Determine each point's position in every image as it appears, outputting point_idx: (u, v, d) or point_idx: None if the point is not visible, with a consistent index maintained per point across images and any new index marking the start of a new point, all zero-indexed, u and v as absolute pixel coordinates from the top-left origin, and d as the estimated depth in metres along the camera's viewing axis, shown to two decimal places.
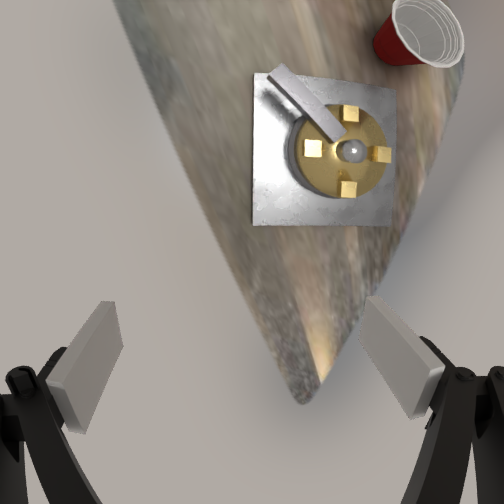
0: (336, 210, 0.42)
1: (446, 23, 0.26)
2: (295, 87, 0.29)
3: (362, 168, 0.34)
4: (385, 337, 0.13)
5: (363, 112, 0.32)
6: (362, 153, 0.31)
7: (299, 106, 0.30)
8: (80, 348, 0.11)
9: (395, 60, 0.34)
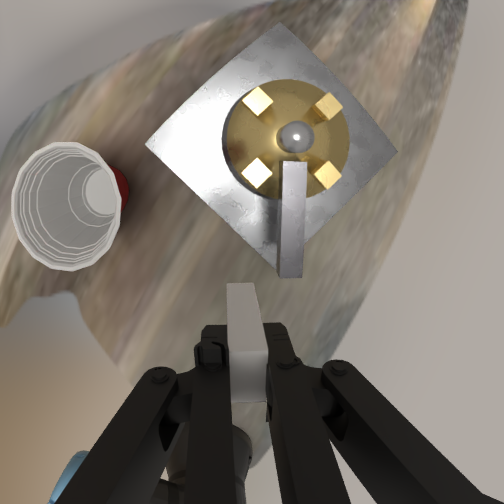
0: (322, 87, 0.30)
1: (27, 196, 0.23)
2: (292, 246, 0.27)
3: (289, 107, 0.25)
4: None
5: (233, 159, 0.26)
6: (293, 128, 0.23)
7: (303, 224, 0.27)
8: (241, 321, 0.13)
9: (121, 179, 0.29)
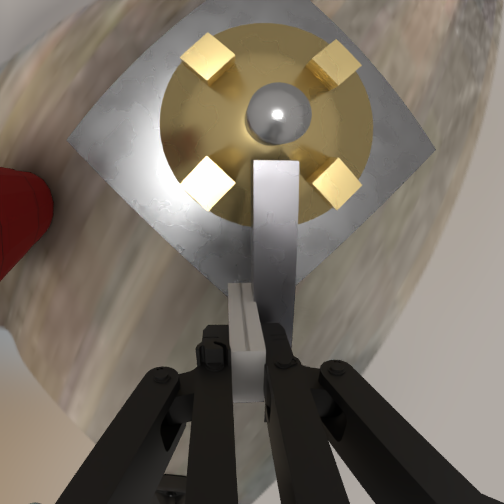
0: None
1: None
2: (273, 309, 0.15)
3: (267, 67, 0.14)
4: None
5: (171, 160, 0.15)
6: (270, 96, 0.12)
7: (294, 272, 0.15)
8: (243, 321, 0.13)
9: (32, 193, 0.18)
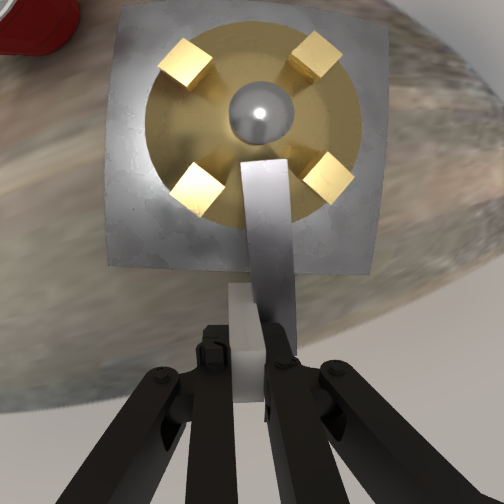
0: None
1: None
2: (274, 310, 0.15)
3: (247, 66, 0.14)
4: None
5: (160, 169, 0.15)
6: (250, 97, 0.11)
7: (293, 271, 0.15)
8: (243, 321, 0.13)
9: (61, 16, 0.14)
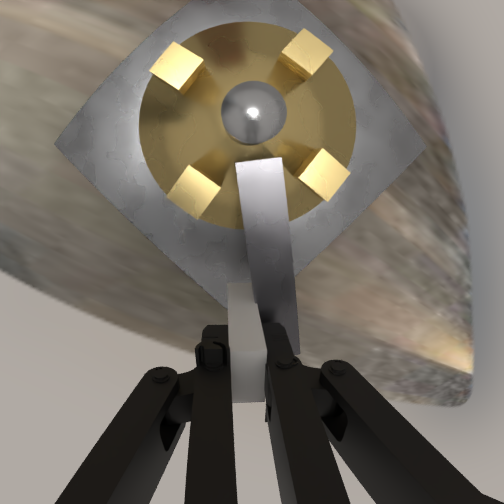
0: (335, 200, 0.22)
1: None
2: (275, 310, 0.15)
3: (238, 67, 0.14)
4: None
5: (156, 173, 0.15)
6: (242, 97, 0.11)
7: (292, 270, 0.15)
8: (242, 321, 0.13)
9: None
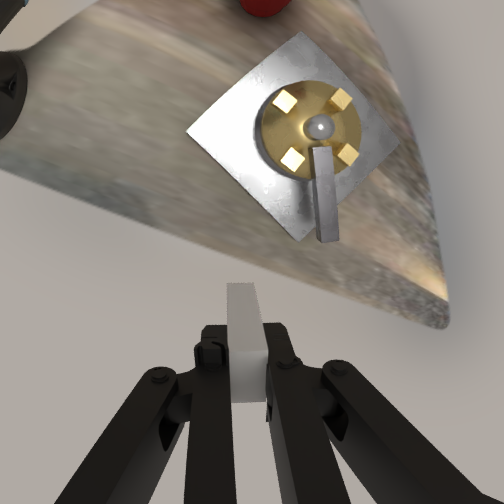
0: (349, 171, 0.39)
1: None
2: (328, 215, 0.32)
3: (309, 103, 0.31)
4: None
5: (271, 150, 0.32)
6: (318, 120, 0.28)
7: (335, 196, 0.32)
8: (241, 321, 0.13)
9: (276, 9, 0.30)
